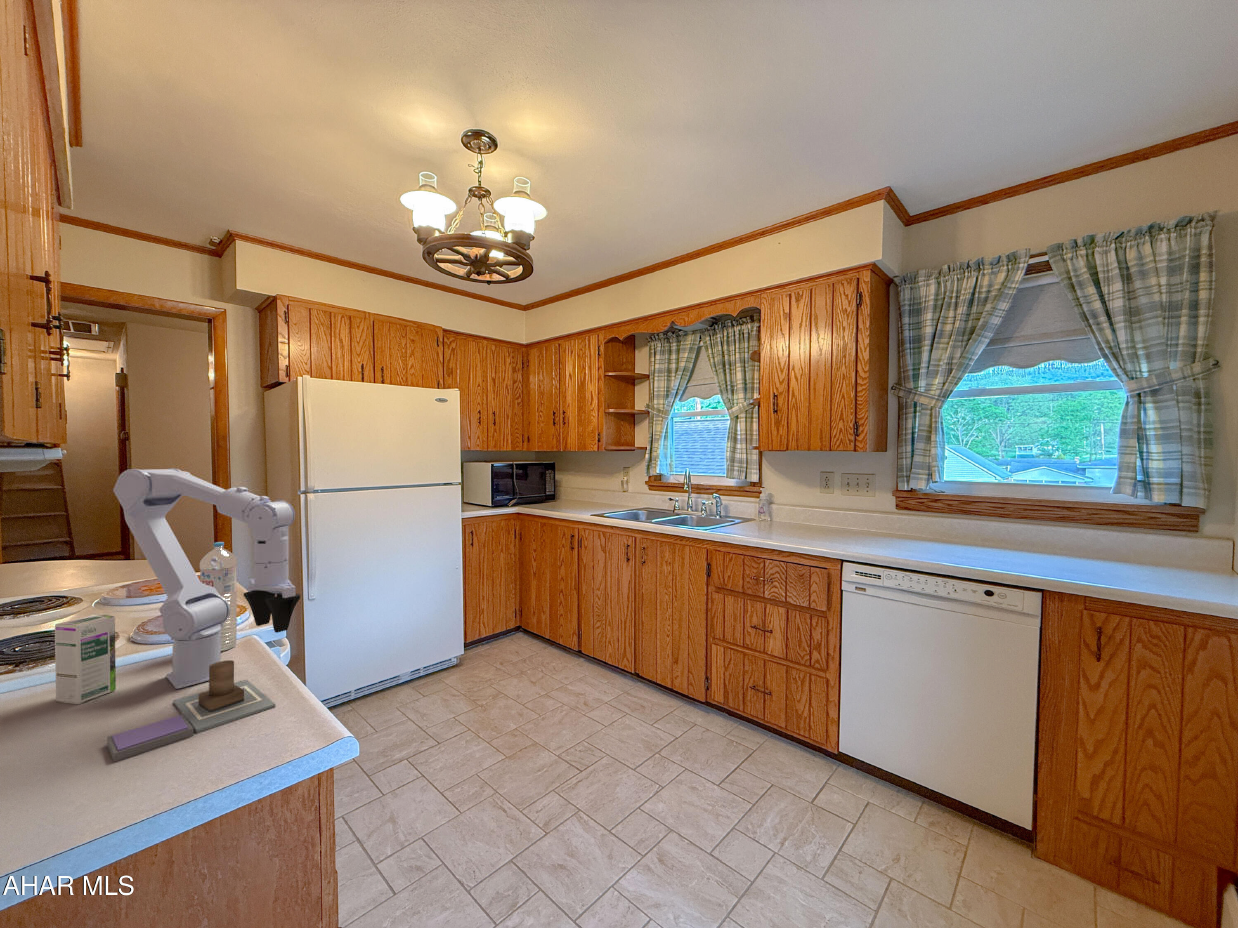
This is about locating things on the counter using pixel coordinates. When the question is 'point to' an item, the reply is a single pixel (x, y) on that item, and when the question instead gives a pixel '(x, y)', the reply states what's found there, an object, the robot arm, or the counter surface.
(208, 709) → the stamp
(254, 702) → the board
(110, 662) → the syrup box
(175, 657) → the robot arm
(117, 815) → the counter surface
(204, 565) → the water bottle
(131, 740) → the ink pad
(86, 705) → the counter surface
